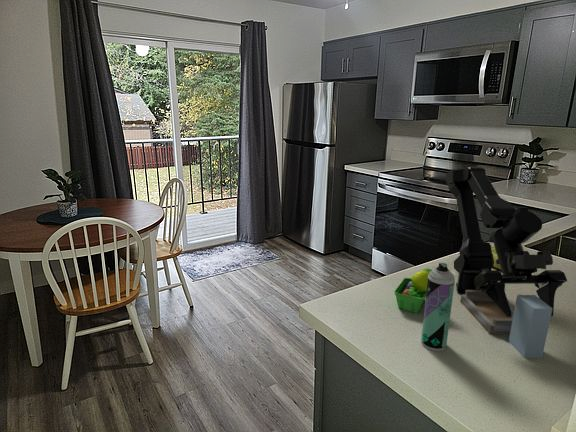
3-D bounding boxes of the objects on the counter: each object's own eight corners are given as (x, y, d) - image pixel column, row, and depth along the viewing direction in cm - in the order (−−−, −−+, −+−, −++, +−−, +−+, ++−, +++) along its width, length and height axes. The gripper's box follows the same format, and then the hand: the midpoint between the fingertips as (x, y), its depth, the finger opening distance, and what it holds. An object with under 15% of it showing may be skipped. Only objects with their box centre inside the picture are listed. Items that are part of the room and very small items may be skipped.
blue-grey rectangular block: (508, 341, 90) (517, 295, 87) (525, 341, 90) (534, 294, 87) (524, 357, 84) (533, 308, 81) (542, 357, 84) (552, 308, 81)
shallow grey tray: (460, 301, 108) (461, 289, 107) (495, 301, 108) (497, 289, 107) (489, 333, 93) (491, 320, 92) (530, 333, 93) (533, 320, 92)
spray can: (426, 334, 93) (434, 257, 87) (449, 343, 89) (460, 263, 84) (417, 345, 88) (425, 264, 83) (441, 354, 85) (452, 271, 80)
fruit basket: (403, 292, 114) (406, 257, 111) (434, 300, 109) (438, 263, 106) (392, 309, 104) (395, 271, 101) (425, 318, 100) (430, 278, 97)
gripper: (486, 237, 86) (506, 306, 78) (569, 237, 86) (598, 306, 78) (466, 257, 95) (482, 320, 88) (541, 257, 96) (563, 320, 88)
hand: (530, 316), depth 85 cm, fingers open, 9 cm apart
